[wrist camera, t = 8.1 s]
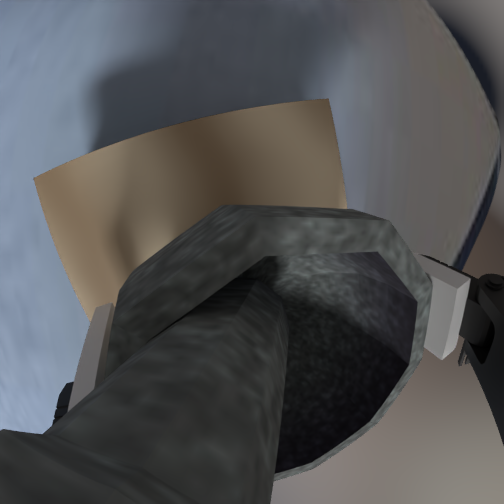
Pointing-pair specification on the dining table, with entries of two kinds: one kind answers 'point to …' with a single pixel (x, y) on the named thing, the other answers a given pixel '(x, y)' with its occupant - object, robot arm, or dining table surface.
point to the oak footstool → (183, 186)
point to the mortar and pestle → (236, 362)
